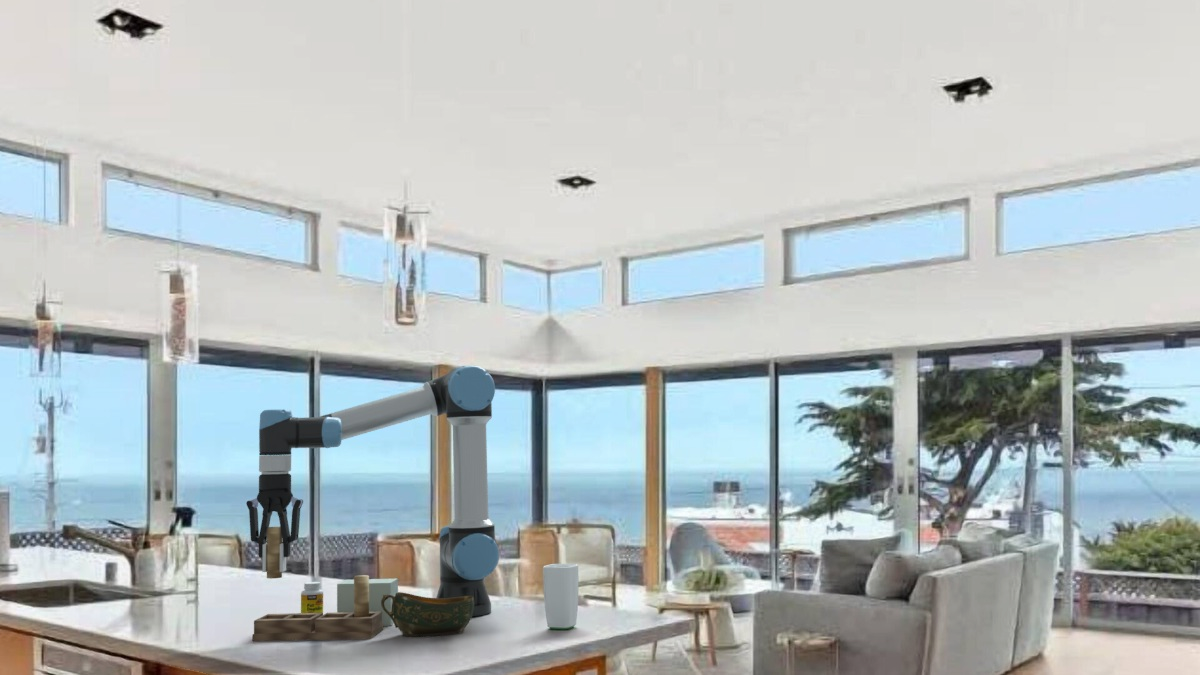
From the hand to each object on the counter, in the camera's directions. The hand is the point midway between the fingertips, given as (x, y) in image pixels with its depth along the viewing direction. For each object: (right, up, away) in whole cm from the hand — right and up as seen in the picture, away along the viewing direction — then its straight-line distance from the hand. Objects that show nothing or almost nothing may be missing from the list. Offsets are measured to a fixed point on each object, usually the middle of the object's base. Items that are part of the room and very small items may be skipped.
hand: (274, 571), depth 260 cm
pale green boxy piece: (+20, -16, +14) cm, 29 cm away
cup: (+69, -14, 0) cm, 71 cm away
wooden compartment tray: (+11, -15, -2) cm, 19 cm away
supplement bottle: (+5, -17, +16) cm, 24 cm away
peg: (0, -2, 0) cm, 2 cm away
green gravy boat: (+38, -15, -3) cm, 41 cm away
